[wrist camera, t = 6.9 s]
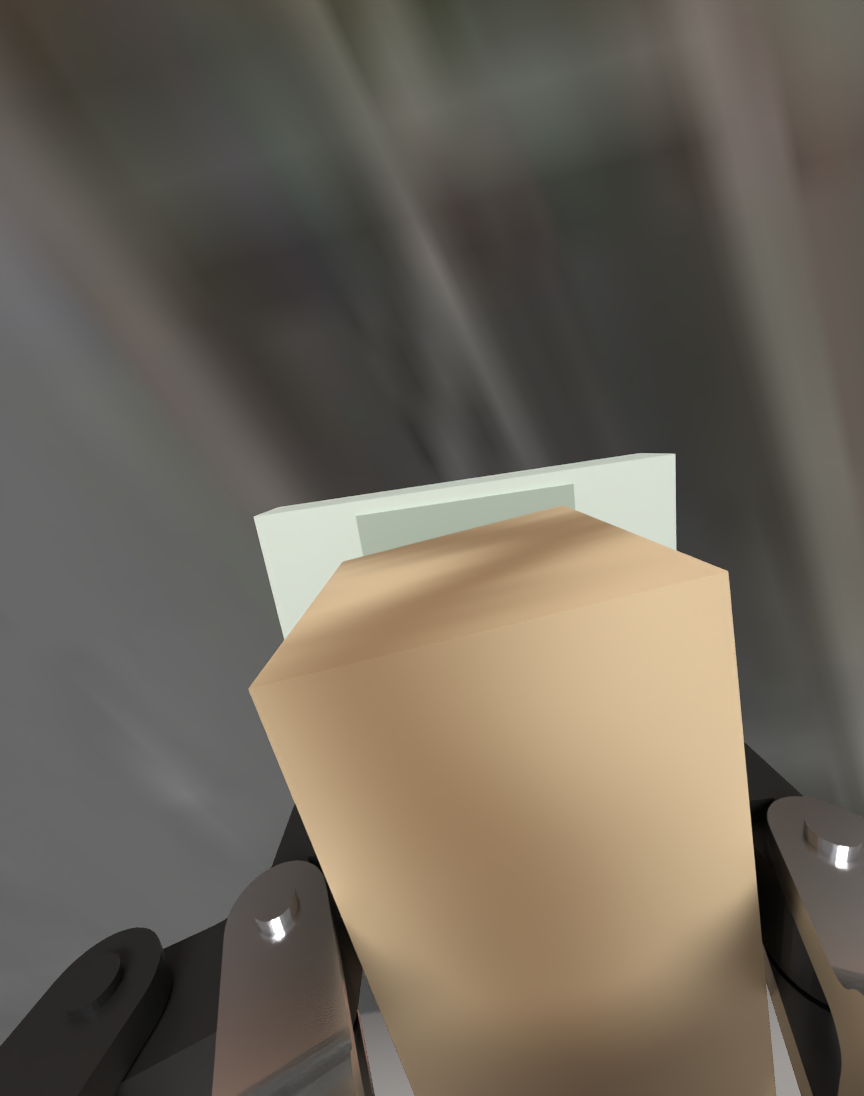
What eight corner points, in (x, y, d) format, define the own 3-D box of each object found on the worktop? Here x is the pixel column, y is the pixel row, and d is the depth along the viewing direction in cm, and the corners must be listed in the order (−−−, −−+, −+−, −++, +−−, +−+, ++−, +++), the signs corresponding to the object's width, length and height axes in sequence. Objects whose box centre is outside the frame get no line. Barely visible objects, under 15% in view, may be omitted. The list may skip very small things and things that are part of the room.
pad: (638, 453, 13) (677, 453, 11) (647, 732, 16) (679, 774, 14) (278, 507, 14) (252, 517, 12) (341, 773, 16) (328, 820, 14)
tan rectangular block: (563, 505, 9) (728, 571, 4) (622, 829, 11) (779, 1131, 6) (342, 561, 9) (248, 689, 4) (441, 869, 11) (454, 1192, 6)
